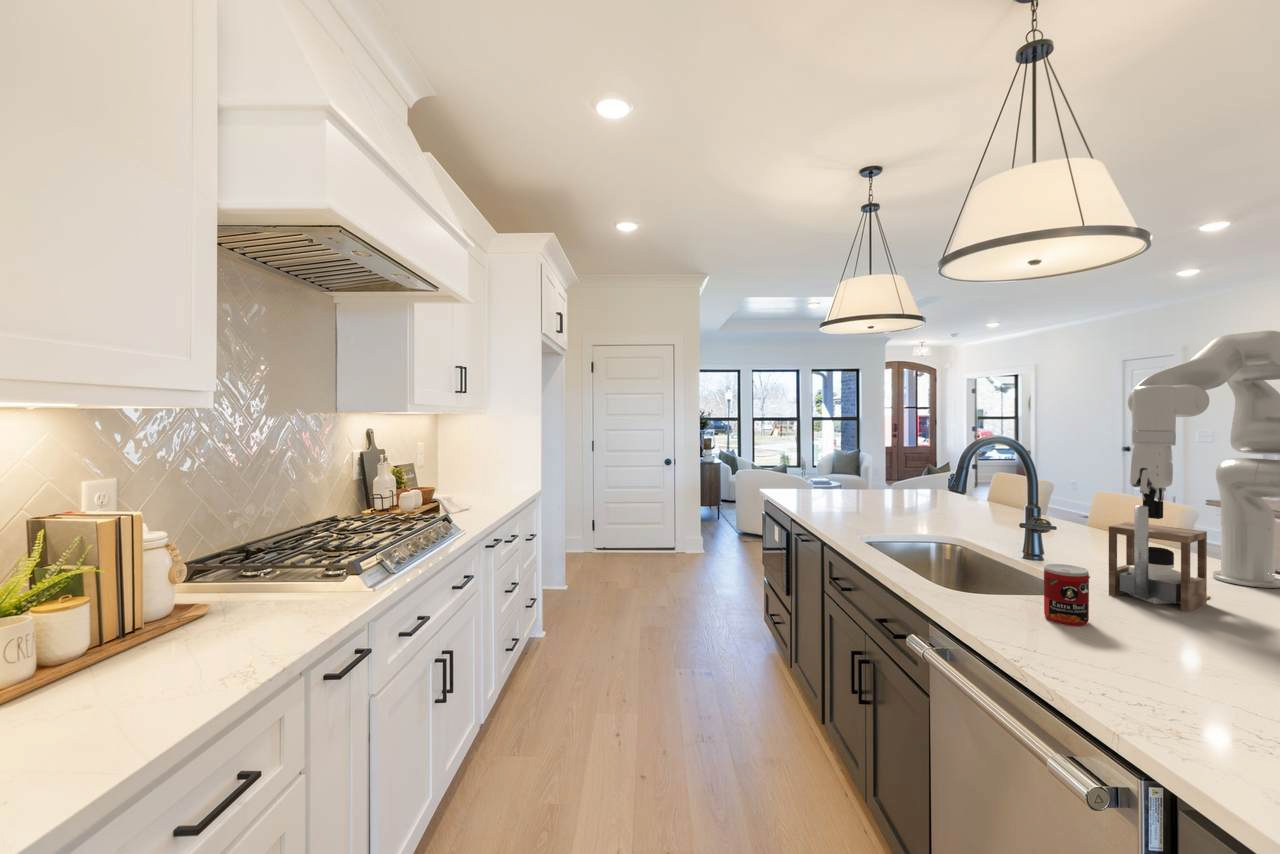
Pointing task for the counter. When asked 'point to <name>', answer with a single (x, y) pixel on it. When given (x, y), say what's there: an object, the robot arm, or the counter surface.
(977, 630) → the counter surface
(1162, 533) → the walnut tunnel
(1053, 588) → the canned food
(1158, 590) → the grey metal post stand
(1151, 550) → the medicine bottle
